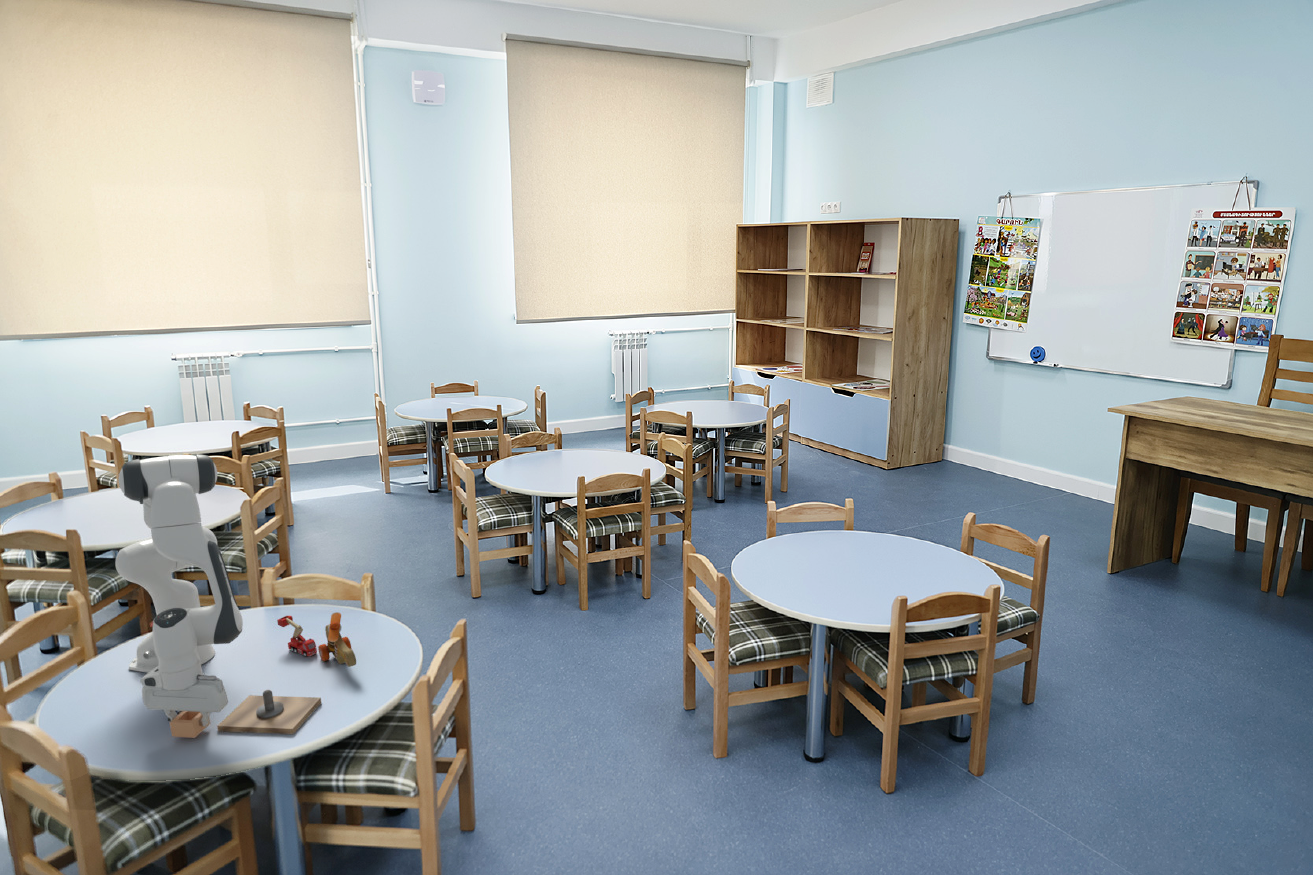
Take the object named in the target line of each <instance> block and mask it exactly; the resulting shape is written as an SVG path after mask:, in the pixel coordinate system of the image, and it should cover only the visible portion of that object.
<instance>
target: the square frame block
mask: <svg viewBox="0 0 1313 875" xmlns="http://www.w3.org/2000/svg"><path fill="white" fill-rule="evenodd" d="M202 717H203V715H201V712H194V711H182V712H181V713H180V714H179V715H177V716H176V717H175V718H174V719H173V720H172V721H169V727H170V732H171V736H172V738H173V737H176V738H194V739H195V738H197V737H198V736H199V735H200V733H202V732H203V731H204V730H205V729H206V728H207V727H209V726H210V724H211V718H210V716H209V717H208V718H209V724H208V725H207V726H199V721H198V720H200V719H201V718H202Z"/></svg>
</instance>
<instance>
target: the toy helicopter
mask: <svg viewBox="0 0 1313 875" xmlns="http://www.w3.org/2000/svg"><path fill="white" fill-rule="evenodd" d="M341 619H342V613H340V612H333V613H331V615H330V622H329V624H328V625H326V626H325V628H324V629H325V630H324V631H325V636H326V640H327V642H326V643H327V644H326V643H323V644H319V645H318V649H317V651H318V654H319V657H320V659H321V661H323V662H325V661H329V660H330V658H331V656H330V653H331V654H332V655H333V657H334V659H336V661H337V663H338V665H343V664H346V665H347V667H349V668H350V667H354V666H356V665H357V659H356V655H355V653H354V650H353V648H352V643H351V640H350V639H349V637H348V636H344V637H342V634H341V631H342V625H341V621H342V620H341Z"/></svg>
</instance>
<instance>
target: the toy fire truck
mask: <svg viewBox="0 0 1313 875" xmlns="http://www.w3.org/2000/svg"><path fill="white" fill-rule="evenodd" d="M293 619H294V618H293V616H292V615H285V616H283V617H281V618H277V621H276V622H277V625H278V627H279V626H280V627H281V628H285V627H287V626H291V627H293V628H294V631H293V634H292V637H291V638H290V641H289V642H287V647H288V649H289V650H290V651H292V653H295V654H300V655H303V656H304V657H311V656H313V655H315V654H317V653H318V649H317V644H316V641H315V640H314V638H313V639H312V638H309V639H307V640H306V638H305V637H304V636H303V634H302V633H303V631H304V629H303V627H302V626H301V624H300V625H299V624H297V623H295V621H293Z"/></svg>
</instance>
